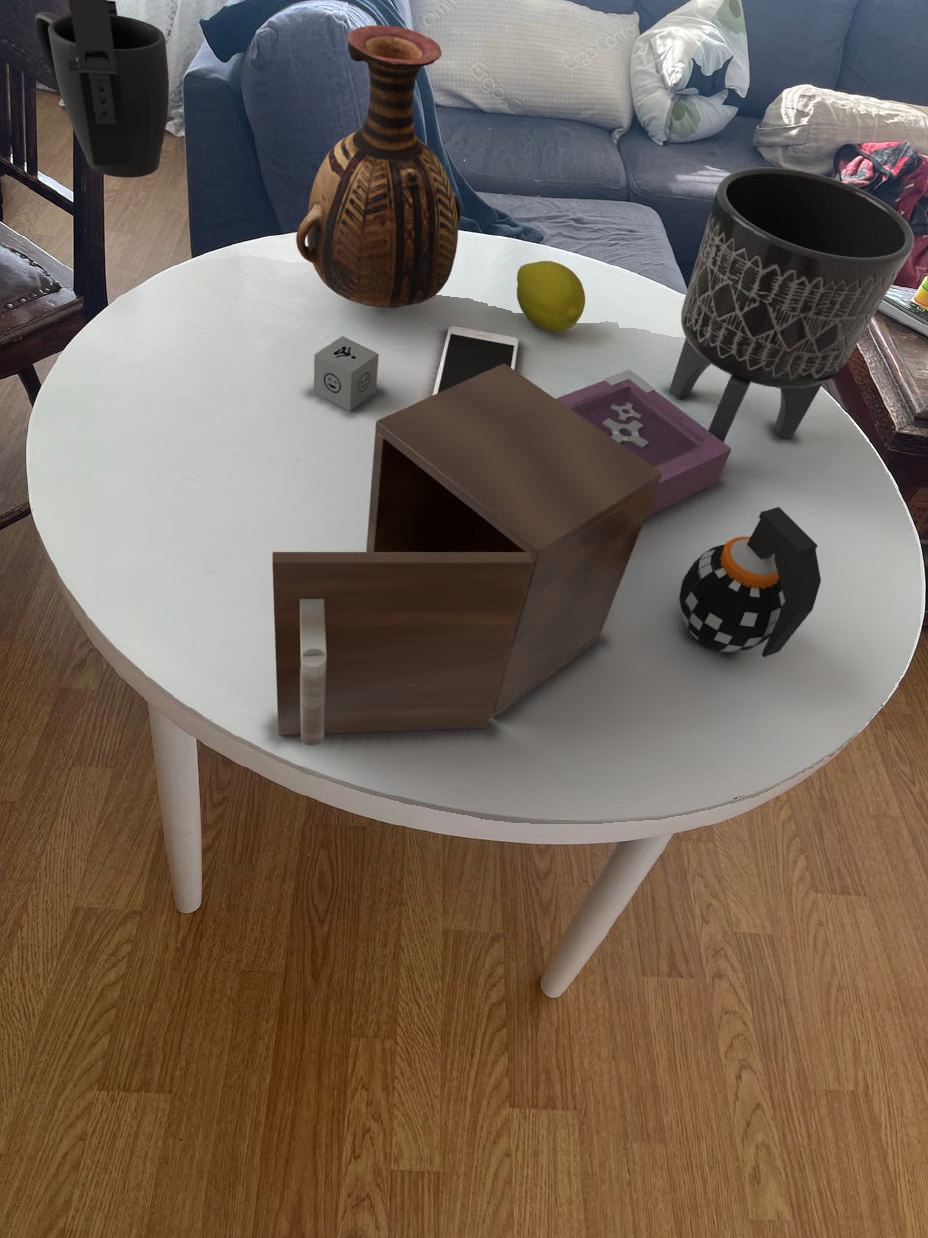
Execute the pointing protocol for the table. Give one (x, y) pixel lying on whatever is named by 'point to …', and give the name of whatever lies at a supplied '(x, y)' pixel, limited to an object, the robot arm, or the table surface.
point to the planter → (785, 286)
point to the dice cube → (345, 373)
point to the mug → (139, 81)
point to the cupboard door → (392, 638)
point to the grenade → (752, 587)
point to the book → (653, 434)
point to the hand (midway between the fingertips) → (108, 134)
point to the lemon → (550, 295)
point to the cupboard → (515, 506)
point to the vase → (384, 188)
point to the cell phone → (472, 355)
